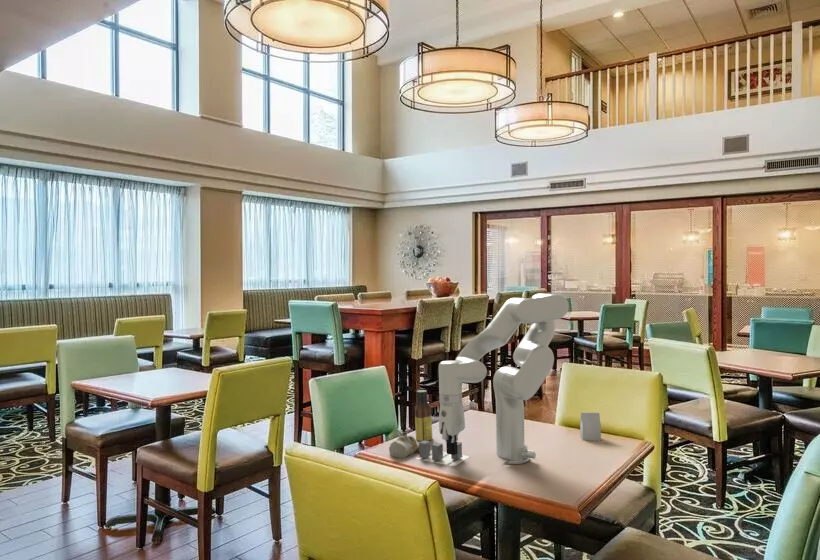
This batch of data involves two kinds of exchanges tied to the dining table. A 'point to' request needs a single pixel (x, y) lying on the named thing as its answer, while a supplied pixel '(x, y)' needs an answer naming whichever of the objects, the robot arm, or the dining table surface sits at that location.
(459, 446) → the slider
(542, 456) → the dining table surface
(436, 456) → the slider
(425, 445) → the slider
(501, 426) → the robot arm
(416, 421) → the sauce bottle
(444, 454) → the switch panel
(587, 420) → the grey upright block
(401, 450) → the ceramic sculpture
